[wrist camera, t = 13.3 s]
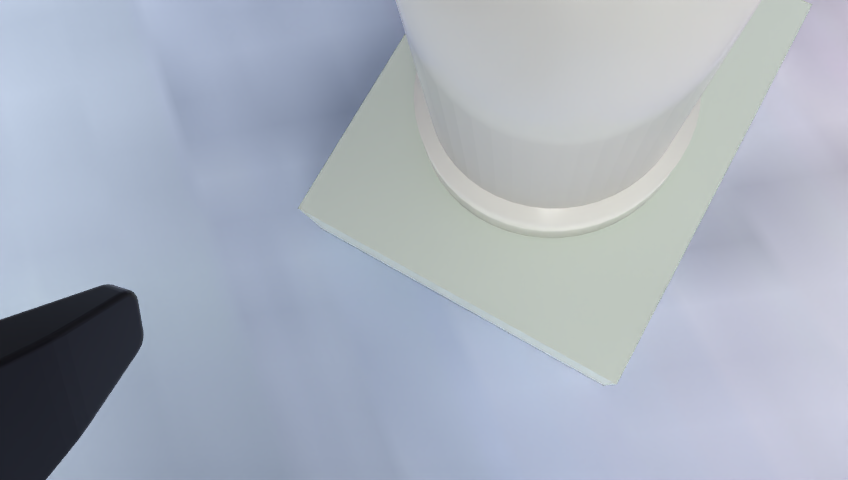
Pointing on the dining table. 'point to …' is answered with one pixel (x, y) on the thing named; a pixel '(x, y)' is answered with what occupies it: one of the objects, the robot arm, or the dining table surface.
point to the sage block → (534, 256)
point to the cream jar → (562, 101)
